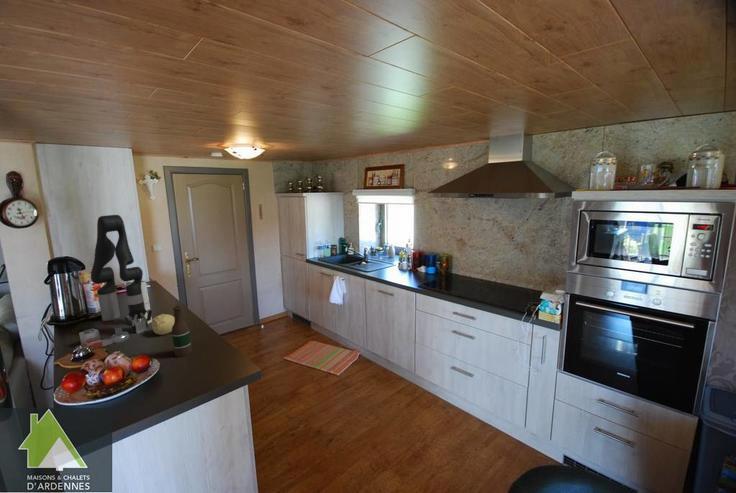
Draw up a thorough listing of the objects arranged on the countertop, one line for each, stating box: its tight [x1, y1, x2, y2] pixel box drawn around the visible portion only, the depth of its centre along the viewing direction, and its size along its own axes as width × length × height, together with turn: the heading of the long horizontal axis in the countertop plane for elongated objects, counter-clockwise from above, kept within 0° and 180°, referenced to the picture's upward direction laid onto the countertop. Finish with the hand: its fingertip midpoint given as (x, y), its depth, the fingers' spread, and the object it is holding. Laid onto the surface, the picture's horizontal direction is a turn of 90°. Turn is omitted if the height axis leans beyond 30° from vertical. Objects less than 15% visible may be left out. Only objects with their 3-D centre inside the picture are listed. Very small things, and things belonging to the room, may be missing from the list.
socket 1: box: [78, 328, 101, 346], centre depth 177 cm, size 6×6×8 cm
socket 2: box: [135, 319, 148, 334], centre depth 191 cm, size 5×5×7 cm
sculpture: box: [151, 313, 175, 336], centre depth 188 cm, size 12×12×11 cm
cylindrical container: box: [141, 281, 153, 325], centre depth 202 cm, size 7×7×25 cm
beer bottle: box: [171, 305, 193, 358], centre depth 161 cm, size 8×8×24 cm
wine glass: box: [75, 325, 130, 350], centre depth 175 cm, size 8×22×7 cm, turn 140°
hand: (140, 329), depth 192 cm, fingers closed on socket 2, 5 cm apart
